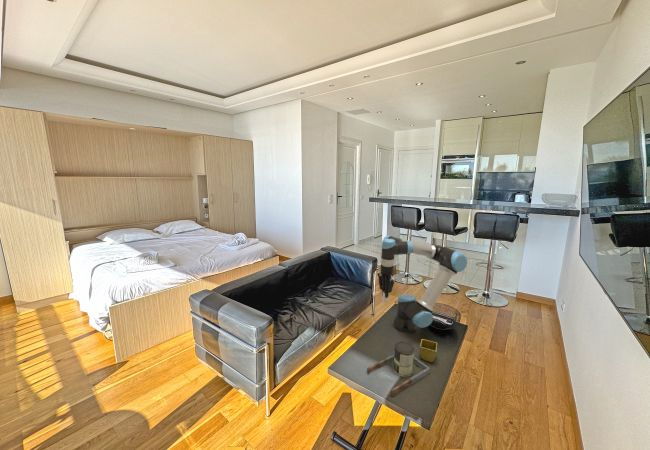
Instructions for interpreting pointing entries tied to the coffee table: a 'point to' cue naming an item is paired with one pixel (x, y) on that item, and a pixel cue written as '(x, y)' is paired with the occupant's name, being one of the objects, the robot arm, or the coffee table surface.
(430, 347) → the flower pot
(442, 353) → the coffee table surface
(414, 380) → the grey piece
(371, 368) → the slot rails
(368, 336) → the coffee table surface
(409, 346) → the coffee can
